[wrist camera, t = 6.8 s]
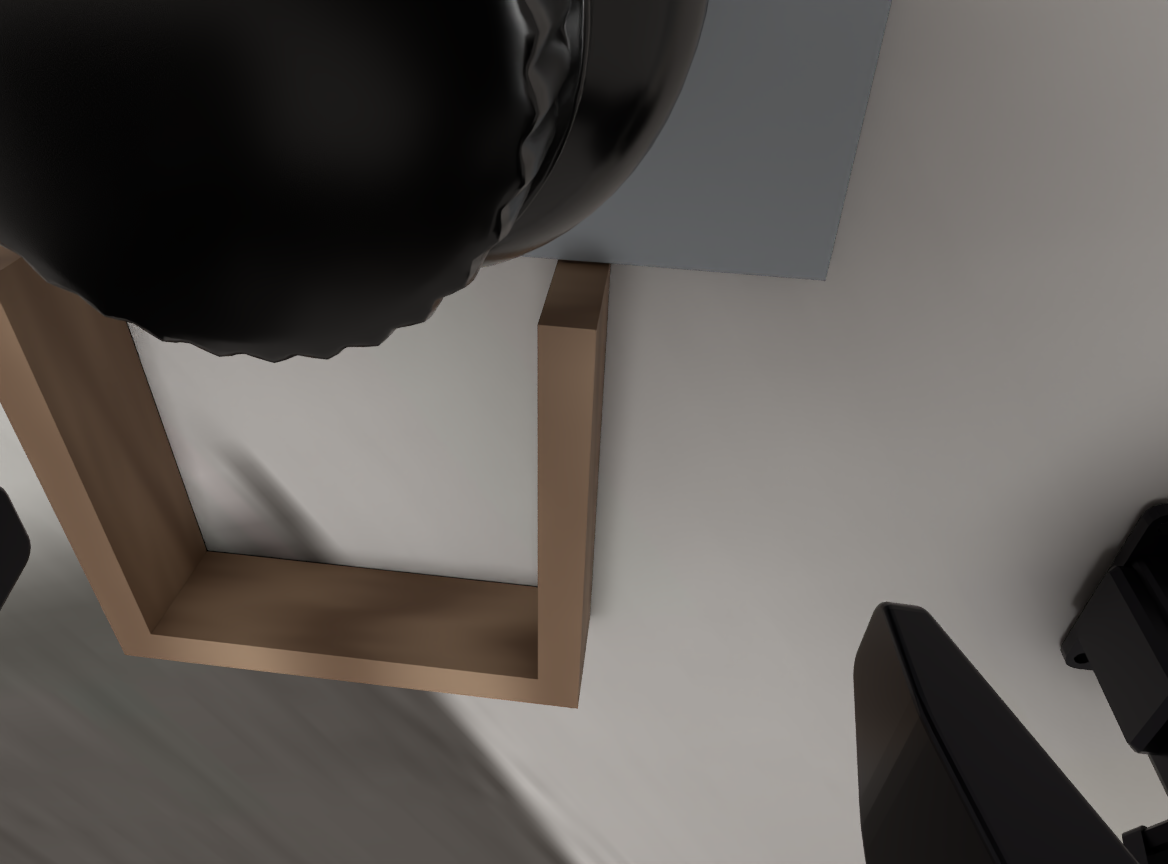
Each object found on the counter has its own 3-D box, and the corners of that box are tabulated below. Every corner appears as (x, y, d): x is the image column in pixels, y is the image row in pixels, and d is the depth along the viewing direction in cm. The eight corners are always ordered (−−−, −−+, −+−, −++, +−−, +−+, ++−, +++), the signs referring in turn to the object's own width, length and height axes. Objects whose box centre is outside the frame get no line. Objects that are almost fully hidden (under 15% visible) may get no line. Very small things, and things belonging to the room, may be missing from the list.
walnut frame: (611, 256, 19) (596, 329, 16) (589, 617, 27) (577, 708, 24) (41, 210, 20) (-64, 273, 17) (182, 572, 28) (125, 654, 25)
